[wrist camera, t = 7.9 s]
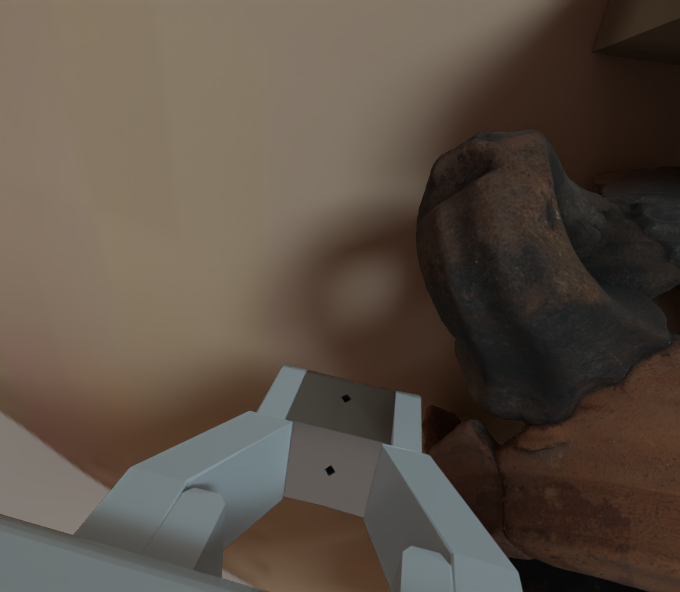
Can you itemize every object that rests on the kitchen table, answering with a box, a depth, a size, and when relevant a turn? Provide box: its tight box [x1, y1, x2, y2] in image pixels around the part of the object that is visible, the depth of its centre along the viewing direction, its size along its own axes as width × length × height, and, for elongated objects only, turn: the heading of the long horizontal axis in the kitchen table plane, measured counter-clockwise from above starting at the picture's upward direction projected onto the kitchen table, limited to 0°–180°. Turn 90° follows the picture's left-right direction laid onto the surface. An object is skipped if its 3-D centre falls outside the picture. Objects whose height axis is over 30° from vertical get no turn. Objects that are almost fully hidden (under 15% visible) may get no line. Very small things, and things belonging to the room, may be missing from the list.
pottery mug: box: [416, 129, 680, 592], centre depth 9 cm, size 12×10×8 cm
